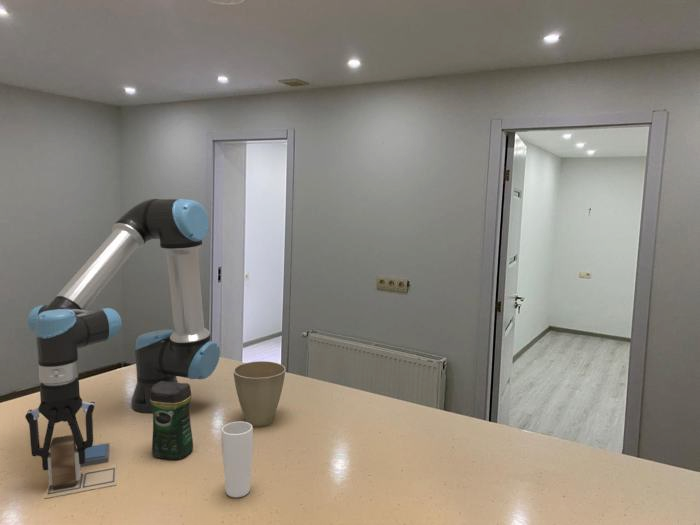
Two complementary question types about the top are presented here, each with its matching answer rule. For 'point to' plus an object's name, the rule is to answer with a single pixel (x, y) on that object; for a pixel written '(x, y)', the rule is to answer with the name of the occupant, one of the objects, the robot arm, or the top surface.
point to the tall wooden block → (63, 461)
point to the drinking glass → (237, 457)
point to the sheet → (87, 482)
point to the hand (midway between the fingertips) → (65, 479)
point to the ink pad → (96, 454)
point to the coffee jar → (171, 420)
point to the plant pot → (259, 390)
